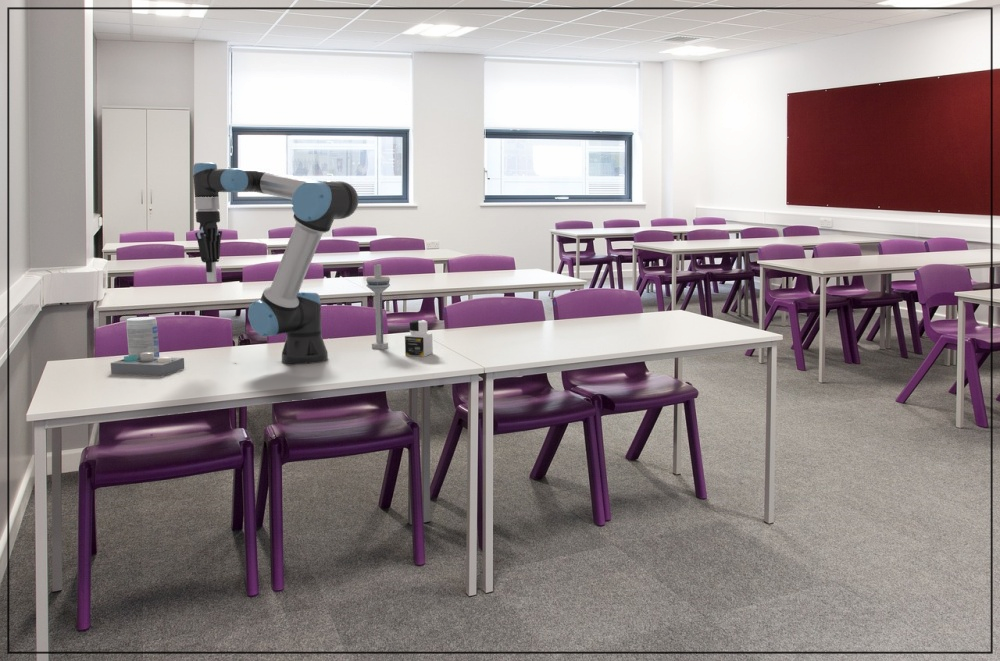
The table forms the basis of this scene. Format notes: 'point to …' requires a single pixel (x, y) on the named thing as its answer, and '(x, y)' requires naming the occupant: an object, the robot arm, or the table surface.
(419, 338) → the medicine bottle
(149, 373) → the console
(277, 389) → the table surface
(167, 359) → the ivory button
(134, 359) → the teal button
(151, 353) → the grey button
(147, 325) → the supplement tub
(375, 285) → the model tower
